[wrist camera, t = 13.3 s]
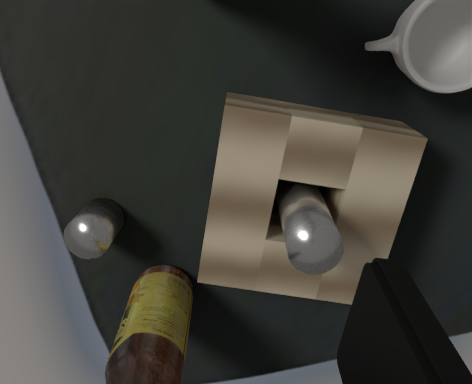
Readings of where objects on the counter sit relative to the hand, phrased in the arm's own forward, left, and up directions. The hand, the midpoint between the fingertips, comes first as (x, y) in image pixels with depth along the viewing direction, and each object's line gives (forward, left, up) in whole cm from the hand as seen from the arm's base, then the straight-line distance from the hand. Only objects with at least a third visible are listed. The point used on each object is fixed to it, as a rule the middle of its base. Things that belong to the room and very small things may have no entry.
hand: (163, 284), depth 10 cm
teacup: (-7, +16, -31) cm, 36 cm away
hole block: (+8, +9, -31) cm, 33 cm away
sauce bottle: (+22, -2, -31) cm, 38 cm away
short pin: (+14, -9, -31) cm, 35 cm away
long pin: (+8, +9, -31) cm, 33 cm away
